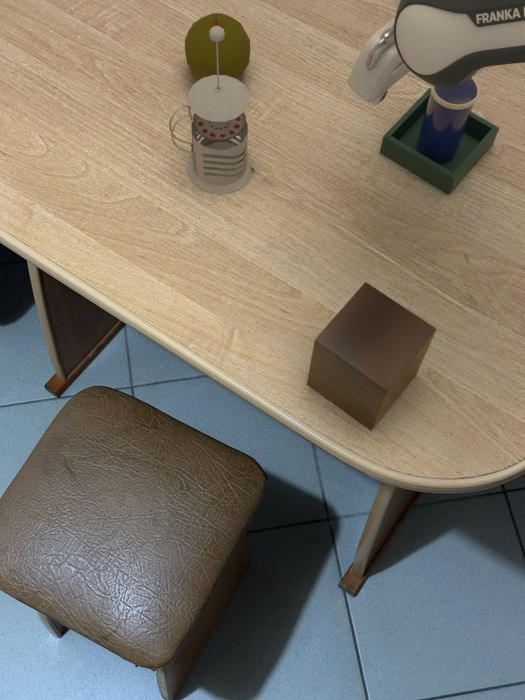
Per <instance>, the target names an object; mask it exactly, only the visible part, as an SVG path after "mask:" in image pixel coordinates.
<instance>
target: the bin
mask: <svg viewBox="0 0 525 700" xmlns="http://www.w3.org/2000/svg"><path fill="white" fill-rule="evenodd" d="M431 88H432V87H431ZM431 88H430V87H429V88H427V90H426V91H425V92H424V93H423V94H422V95H421V96H420V97H418V99H417V100H416V101H415V102H414V103H413V104H412V105H411V107H410V108H409V109H407V111H406V112H405V113H404V114H403V115H402V116H401V117H400V118H399V119H398V120H397V121H396V122H395V124H393V125H392V126H391V128H389V129H388V131H386V133H384V135H383V136H382V140H381V143H380V144H381V145H380V149H379V154H381V155H382V156H383V157H386V158H388V159H389V160H391V161H393V162H394V163H395V164H397V165H399V166H400V167H401V168H403V169H405V170H407V171H408V172H411V173H412V174H413V175H415V176H417V177H418V178H419V179H422V180H423V181H425V182H427V183H428V184H430V185H431V186H433V187H434V188H437V190H439V191H441V192H443V193H445V194H446V195H448V196H449V195H451V193H452V192H453V191H454V190H455V189H456V188H457V186H458V185H459V184H460V183H461V182H462V181H463V180H464V179H465V177H466V176H467V175H468V174H469V173H470V172H471V170H472V169H473V168H474V167H475V166H476V165H477V164H478V162H479V161H481V159H482V158H483V156H485V154H487V152H488V151H489V150H490V149H491V148H492V146H493V145H494V143H495V141H496V138H497V135H498V133H499V131H500V127H499V126H497V125H495V124H494V123H492V122H490V121H488V120H487V119H485V118H483V117H481V116H480V115H478V114H477V113H475V112H473V111H471V114H470V117H469V120H468V123H467V126H466V128H465V131H464V134H463V137H462V140H461V143H460V145H459V148H458V151H457V154H456V156H455V158H454V159H453V160H452V161H450V162H448V163H445V164H437V163H436V162H434V161H432V160H431V159H429V158H427V157H426V156H424V155H422V154H421V153H419V152H417V150H416V143H417V140H418V136H419V133H420V129H421V126H422V122H423V119H424V115H425V111H426V108H427V104H428V101H429V97H430V94H431Z"/></svg>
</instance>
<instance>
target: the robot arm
mask: <svg viewBox="0 0 525 700" xmlns="http://www.w3.org/2000/svg"><path fill="white" fill-rule="evenodd" d="M394 4H395V8H396V13H395V16H394V17H393V18H392V19H389V20H388V21H387V23H385V24H384V25H382V27H380V28H379V29H377V30H376V31H375V32H374V33H373V34H372V35H371V36H370V37H369V38H368V39H367V41H366V42H365V44H364V45H363V47H362V48H361V51H360V52H359V54H358V57H357V59H356V60H355V63H354V65H353V67H352V69H351V72H350V73H349V75H348V78H347V85H348V87H349V88H350V90H351V91H352V92H353V93H355V94H356V95H357V96H358V97H359V98H360V99H362V100H363V101H364V102H367V103H369V104H372V105H374V106H378V105H380V103H381V102H382V101H383V100H384V99H385V98H386V96H387V94H388V92H389V89H391V88H393V86H394V85H396V83H398V82H400V80H401V79H402V78H404V77H405V76H406V75H407V74H409V72H411V73H412V74H414V75H415V76H416V77H417V78H419V79H420V80H422V81H423V82H425V83H427V84H429V85H431V86H432V85H433V86H436V87H438V88H441V89H451V88H453V87H455V86H457V85H459V84H461V83H463V82H465V81H467V80H469V79H470V78H473V77H474V76H476V75H479V74H481V73H483V72H485V71H487V70H490V69H492V68H494V67H496V66H502V65H503V66H505V65H513V64H514V65H515V64H522V63H523V64H524V63H525V0H394Z"/></svg>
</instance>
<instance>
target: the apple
mask: <svg viewBox="0 0 525 700" xmlns="http://www.w3.org/2000/svg"><path fill="white" fill-rule="evenodd" d="M214 26H219V27H221V28H223V29H224V33H225V38H224V39H223V40H222V41H219V42H218V66H219V75H226V76H229V77H232V78H235V79H237V80H239V81H240V78H241V77H242V75H243V74H244V72H245V71H246V69H247V67H248V66H249V64H250V59H251V39H250V37H249V35H248V33H247V31H246V30H245V28H244V26H243V25H242V23H241V22H240V21H239V20H237V19H235V17H233V16H231V15H228V14H224V13H223V12H213V13H210V14H206V15H204V16H202V17H200V18H199V19H197V20H196V21H195V22H193V23H192V25H191V27H189V29H188V31H187V34H186V35H185V38H184V53H185V58H186V64H187V66H188V68H189V70H190V73H191V74H192V75H193V76H194V78H195V79H196V81H199V80H200V79H202V78H205V77H208V76H212V75H217V51H216V41H212V40H211V39H210V29H211V28H212V27H214Z"/></svg>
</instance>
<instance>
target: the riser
mask: <svg viewBox="0 0 525 700" xmlns="http://www.w3.org/2000/svg"><path fill="white" fill-rule="evenodd" d="M437 329H438V328H436V327H435V326H433V325H431V324H430V323H429V322H428V321H426V320H424V319H423V318H421V317H420V316H418V315H417V314H415V313H414V312H412V311H410V310H409V309H407V308H406V307H405V306H403V305H401V304H400V303H399V302H397V301H395V300H394V299H392V298H391V297H389V296H388V295H386V294H385V293H384V292H382V291H381V290H379V289H377V288H376V287H375V286H373V285H371V284H370V283H368V282H367V281H365V282H364V283H363V284H361V286H360V287H359V288H358V289H357V291H356V292H354V294H353V295H352V296H351V298H349V300H348V301H346V303H345V304H344V305H343V307H342V308H341V309H340V310H339V311H338V312H337V314H336V315H335V316H334V317H333V318H332V319H331V320H330V322H328V324H327V325H326V326H325V327H324V328H323V330H322V331H321V332H320V333H319V334H318V336H317V337H315V339H314V341H313V347H312V353H311V358H310V364H309V370H308V375H307V381H306V385H307V386H309V387H310V388H311V389H313V390H314V391H315V392H316V393H318V394H319V395H320V396H322V397H323V398H325V399H327V400H328V401H329V402H331V403H332V404H333V405H335V406H336V407H337V408H339V409H340V410H342V411H343V412H344V413H345V414H347V415H349V416H350V417H351V418H353V419H354V420H355V421H357V422H358V423H359V424H361V425H362V426H364V427H365V428H367V429H368V430H369V431H371V432H372V431H374V429H375V428H376V426H377V425H378V424H379V422H381V420H382V419H383V418H384V416H385V415H386V414H387V413H388V412H389V410H390V409H391V407H392V406H393V405H394V404H395V402H397V400H398V399H399V398H400V396H401V395H402V394H403V392H404V391H405V390H406V389H407V387H408V386H409V385H410V383H411V382H412V381H413V380H414V379H415V377H416V376H417V374H418V372H419V371H420V368H421V366H422V363H423V362H424V358H425V356H426V354H427V352H428V350H429V347H430V345H431V344H432V341H433V338H434V336H435V334H436V332H437Z"/></svg>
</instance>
